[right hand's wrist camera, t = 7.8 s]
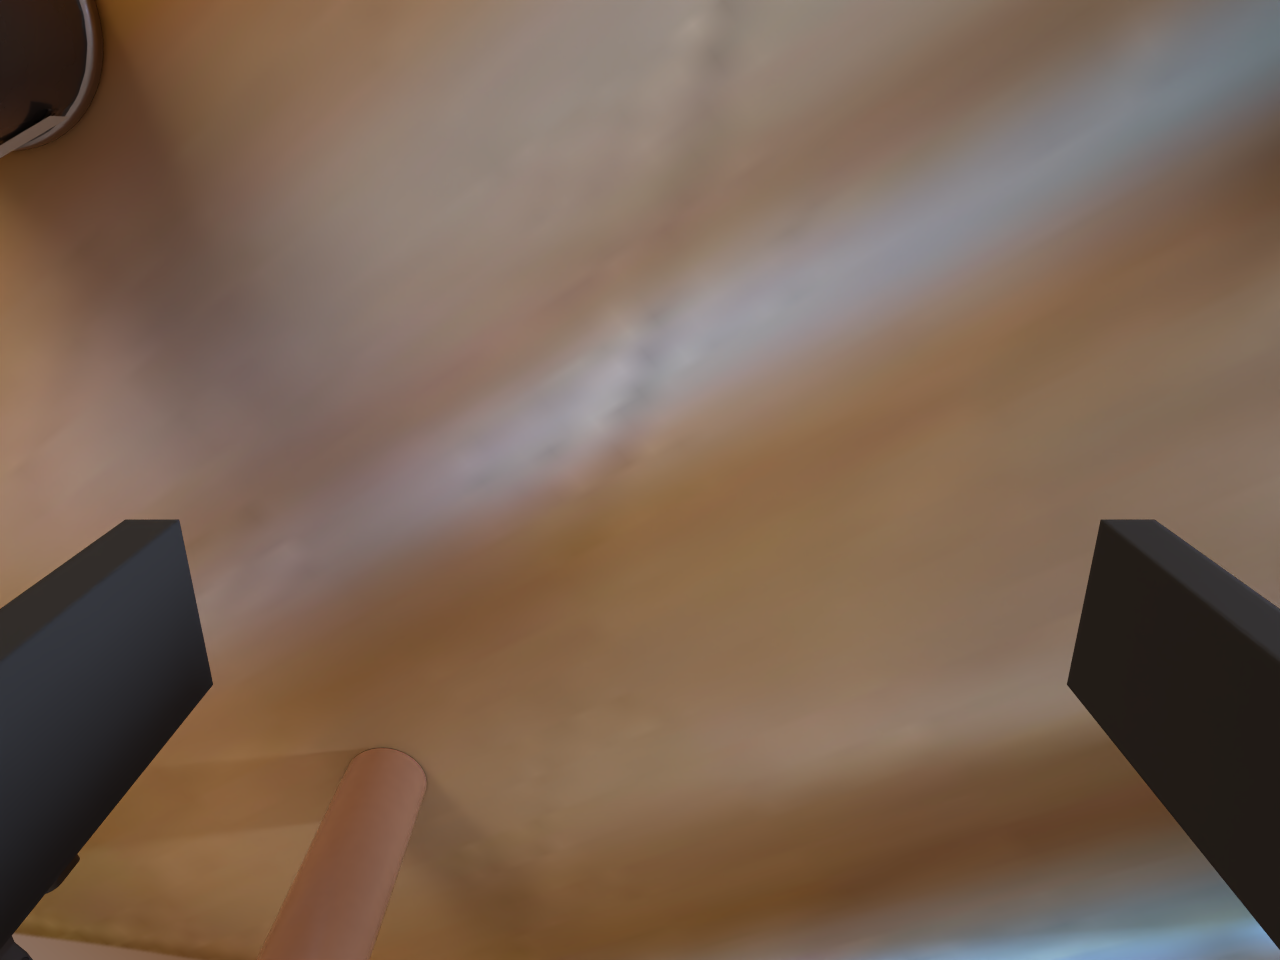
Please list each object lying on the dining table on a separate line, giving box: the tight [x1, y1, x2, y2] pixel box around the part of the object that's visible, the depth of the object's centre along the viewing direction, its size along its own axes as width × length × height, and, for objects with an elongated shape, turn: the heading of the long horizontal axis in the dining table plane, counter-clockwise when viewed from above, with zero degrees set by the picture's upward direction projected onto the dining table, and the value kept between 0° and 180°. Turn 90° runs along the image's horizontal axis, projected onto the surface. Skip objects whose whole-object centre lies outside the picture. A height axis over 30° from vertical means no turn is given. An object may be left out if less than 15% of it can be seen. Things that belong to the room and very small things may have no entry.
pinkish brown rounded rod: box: [256, 748, 427, 960], centre depth 38 cm, size 4×4×19 cm
